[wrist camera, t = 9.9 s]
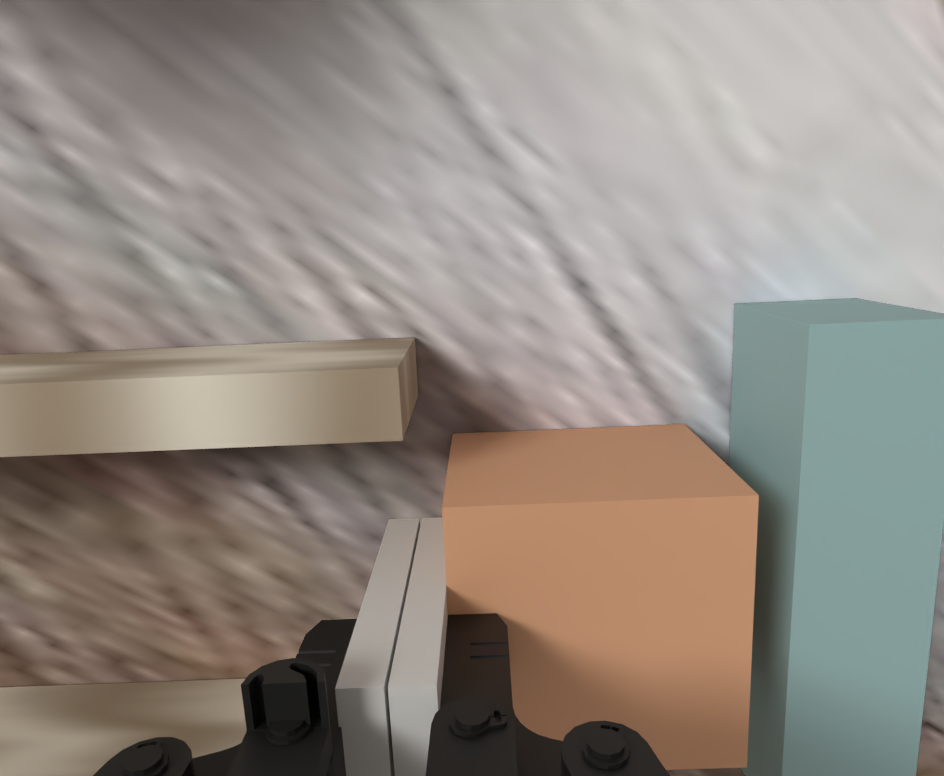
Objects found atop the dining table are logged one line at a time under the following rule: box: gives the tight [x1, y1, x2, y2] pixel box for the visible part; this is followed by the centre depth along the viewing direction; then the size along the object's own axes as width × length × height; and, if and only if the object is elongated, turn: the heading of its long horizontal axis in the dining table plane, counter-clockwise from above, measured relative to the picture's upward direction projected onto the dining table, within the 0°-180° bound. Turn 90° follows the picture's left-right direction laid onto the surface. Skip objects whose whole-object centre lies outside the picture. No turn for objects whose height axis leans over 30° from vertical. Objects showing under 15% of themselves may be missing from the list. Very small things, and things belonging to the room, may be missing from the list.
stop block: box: [729, 298, 944, 776], centre depth 17 cm, size 3×12×4 cm, turn 2°
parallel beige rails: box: [0, 337, 419, 776], centre depth 16 cm, size 14×11×6 cm
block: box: [442, 424, 759, 770], centre depth 16 cm, size 6×6×5 cm
